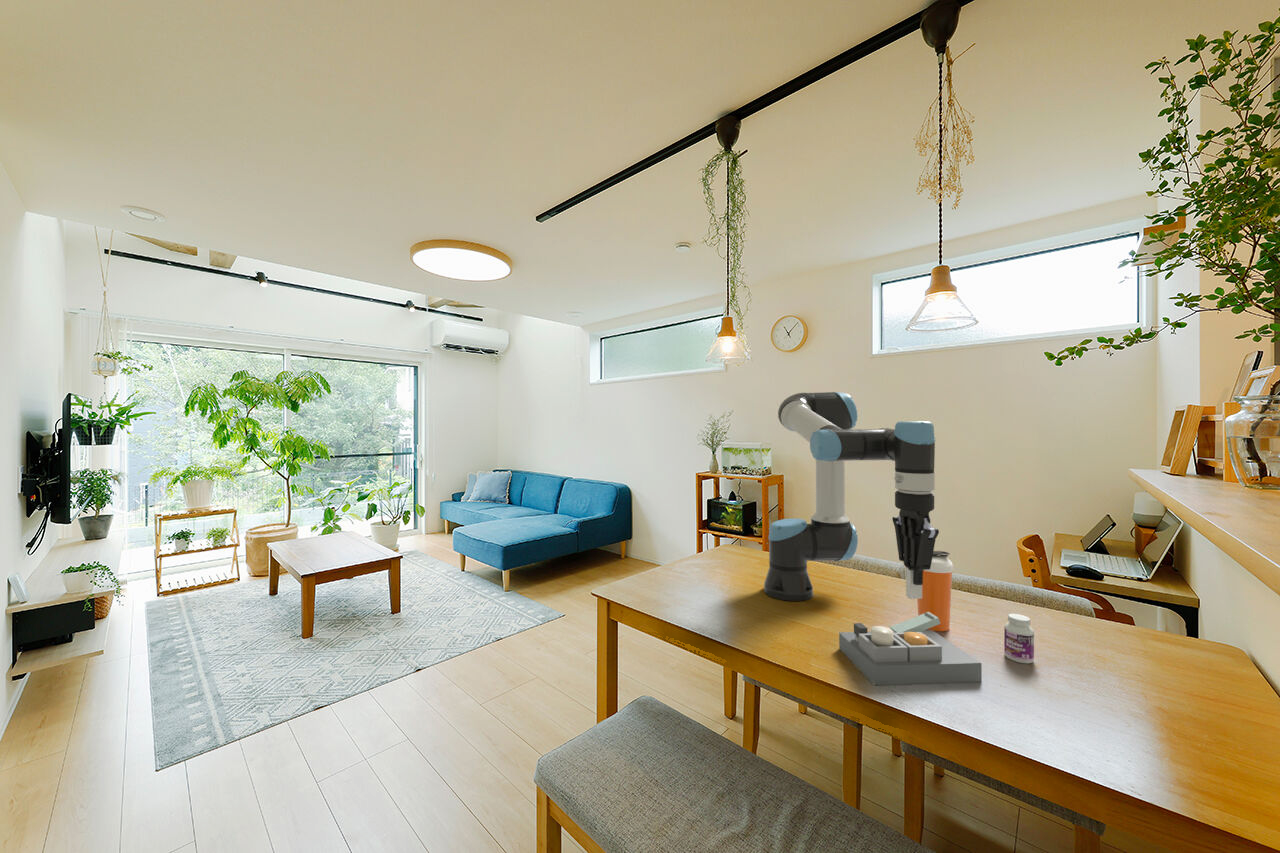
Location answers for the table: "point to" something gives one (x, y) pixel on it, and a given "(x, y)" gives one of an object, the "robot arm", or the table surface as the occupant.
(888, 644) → the button
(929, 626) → the block
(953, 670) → the panel
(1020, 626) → the pill bottle
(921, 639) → the button
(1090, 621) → the table surface
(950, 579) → the shaker bottle
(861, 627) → the slider
